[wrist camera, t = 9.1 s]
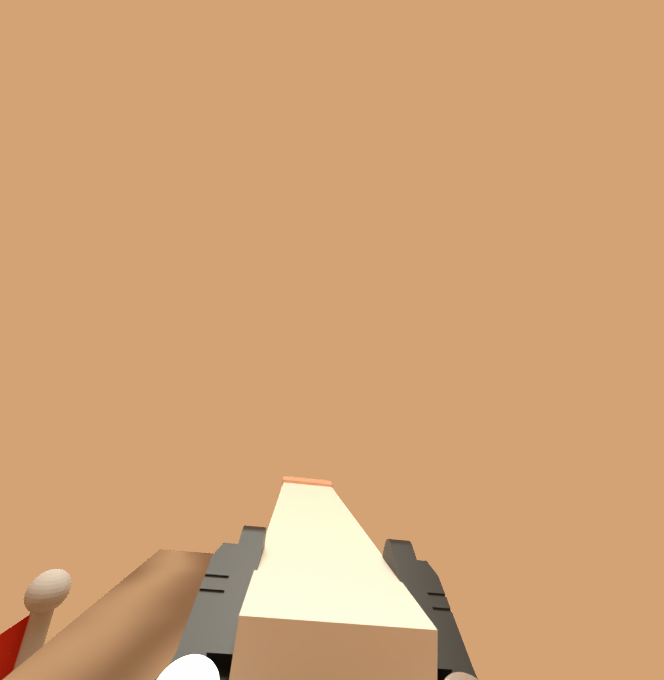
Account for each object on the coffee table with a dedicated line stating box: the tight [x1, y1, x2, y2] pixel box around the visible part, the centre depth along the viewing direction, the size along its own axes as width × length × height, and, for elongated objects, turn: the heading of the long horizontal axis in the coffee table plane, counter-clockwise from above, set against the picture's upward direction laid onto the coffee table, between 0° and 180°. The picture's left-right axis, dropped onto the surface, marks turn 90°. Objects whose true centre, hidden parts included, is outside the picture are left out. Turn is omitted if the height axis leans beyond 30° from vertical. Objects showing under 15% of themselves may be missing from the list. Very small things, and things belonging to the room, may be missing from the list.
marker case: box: [229, 476, 438, 680], centre depth 18 cm, size 4×25×3 cm, turn 6°
